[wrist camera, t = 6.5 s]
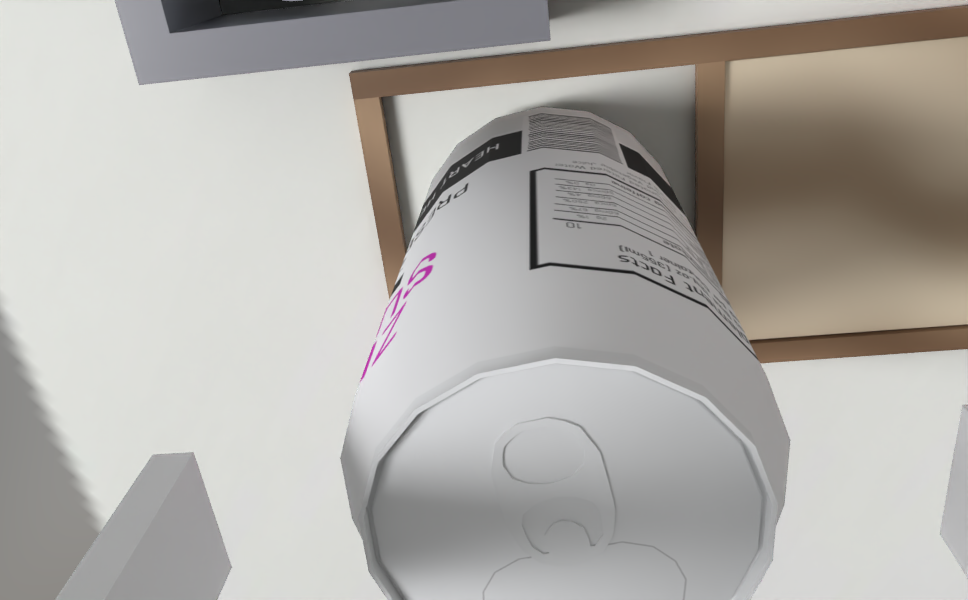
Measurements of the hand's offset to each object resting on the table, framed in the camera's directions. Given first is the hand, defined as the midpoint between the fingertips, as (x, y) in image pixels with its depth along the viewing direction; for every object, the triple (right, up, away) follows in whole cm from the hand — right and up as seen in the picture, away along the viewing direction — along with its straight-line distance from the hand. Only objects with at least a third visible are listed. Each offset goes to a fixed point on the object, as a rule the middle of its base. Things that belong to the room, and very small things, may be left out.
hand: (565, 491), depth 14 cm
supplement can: (+1, +6, +13) cm, 14 cm away
